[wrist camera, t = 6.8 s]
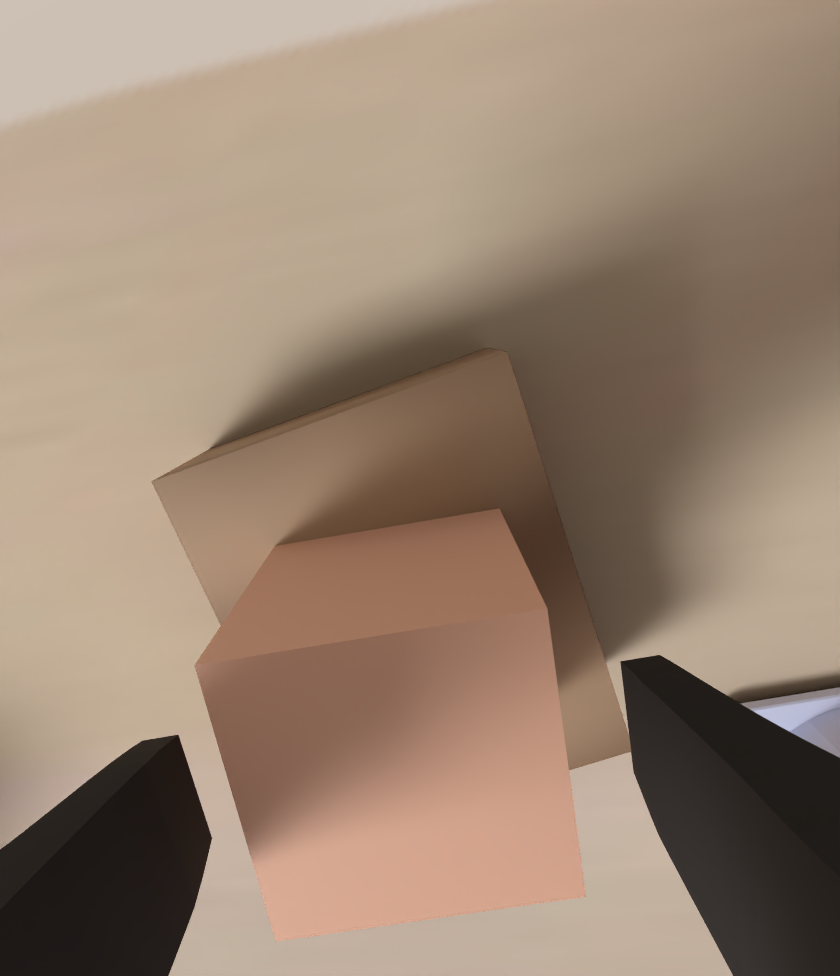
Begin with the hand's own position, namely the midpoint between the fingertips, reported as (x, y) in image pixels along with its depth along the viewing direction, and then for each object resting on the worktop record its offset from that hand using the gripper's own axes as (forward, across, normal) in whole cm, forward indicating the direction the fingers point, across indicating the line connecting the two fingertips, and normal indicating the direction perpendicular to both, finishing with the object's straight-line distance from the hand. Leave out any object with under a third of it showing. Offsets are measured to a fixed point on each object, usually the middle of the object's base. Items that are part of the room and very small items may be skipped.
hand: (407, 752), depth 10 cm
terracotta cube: (+4, 0, 0) cm, 4 cm away
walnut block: (+8, 0, 0) cm, 8 cm away
